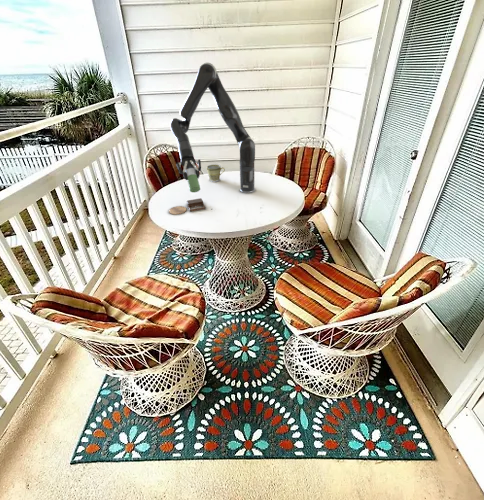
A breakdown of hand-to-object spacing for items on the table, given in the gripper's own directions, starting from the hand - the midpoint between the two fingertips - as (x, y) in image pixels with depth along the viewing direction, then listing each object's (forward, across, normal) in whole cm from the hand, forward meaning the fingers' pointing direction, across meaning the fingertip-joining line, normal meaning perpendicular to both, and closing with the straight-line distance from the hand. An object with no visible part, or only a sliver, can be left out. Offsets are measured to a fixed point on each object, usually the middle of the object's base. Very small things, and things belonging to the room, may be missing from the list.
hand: (192, 178), depth 153 cm
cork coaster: (+13, -11, +12) cm, 21 cm away
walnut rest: (+12, 0, +12) cm, 17 cm away
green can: (+1, 0, 0) cm, 1 cm away
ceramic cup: (-15, +23, +40) cm, 48 cm away
